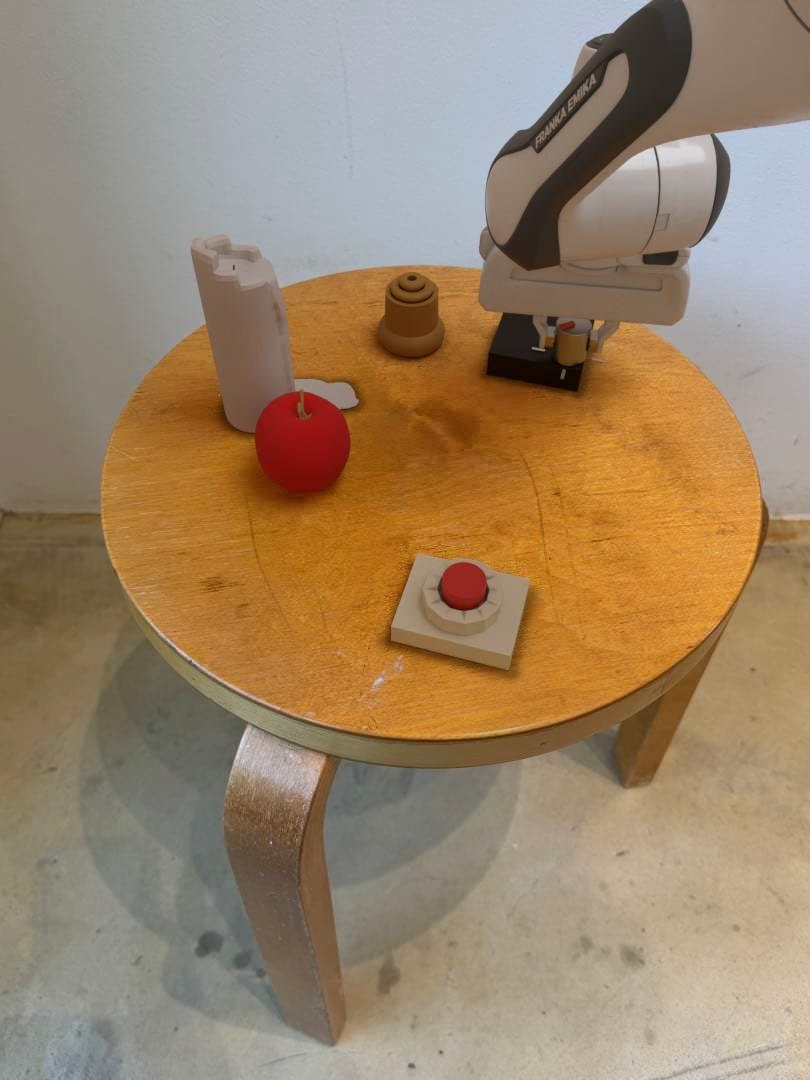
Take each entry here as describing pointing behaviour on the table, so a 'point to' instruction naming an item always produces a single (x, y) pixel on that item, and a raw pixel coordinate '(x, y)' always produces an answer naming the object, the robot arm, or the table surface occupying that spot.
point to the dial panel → (529, 355)
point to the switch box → (460, 614)
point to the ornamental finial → (411, 316)
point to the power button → (463, 585)
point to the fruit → (302, 442)
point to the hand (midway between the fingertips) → (570, 347)
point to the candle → (250, 332)
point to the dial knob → (571, 341)
